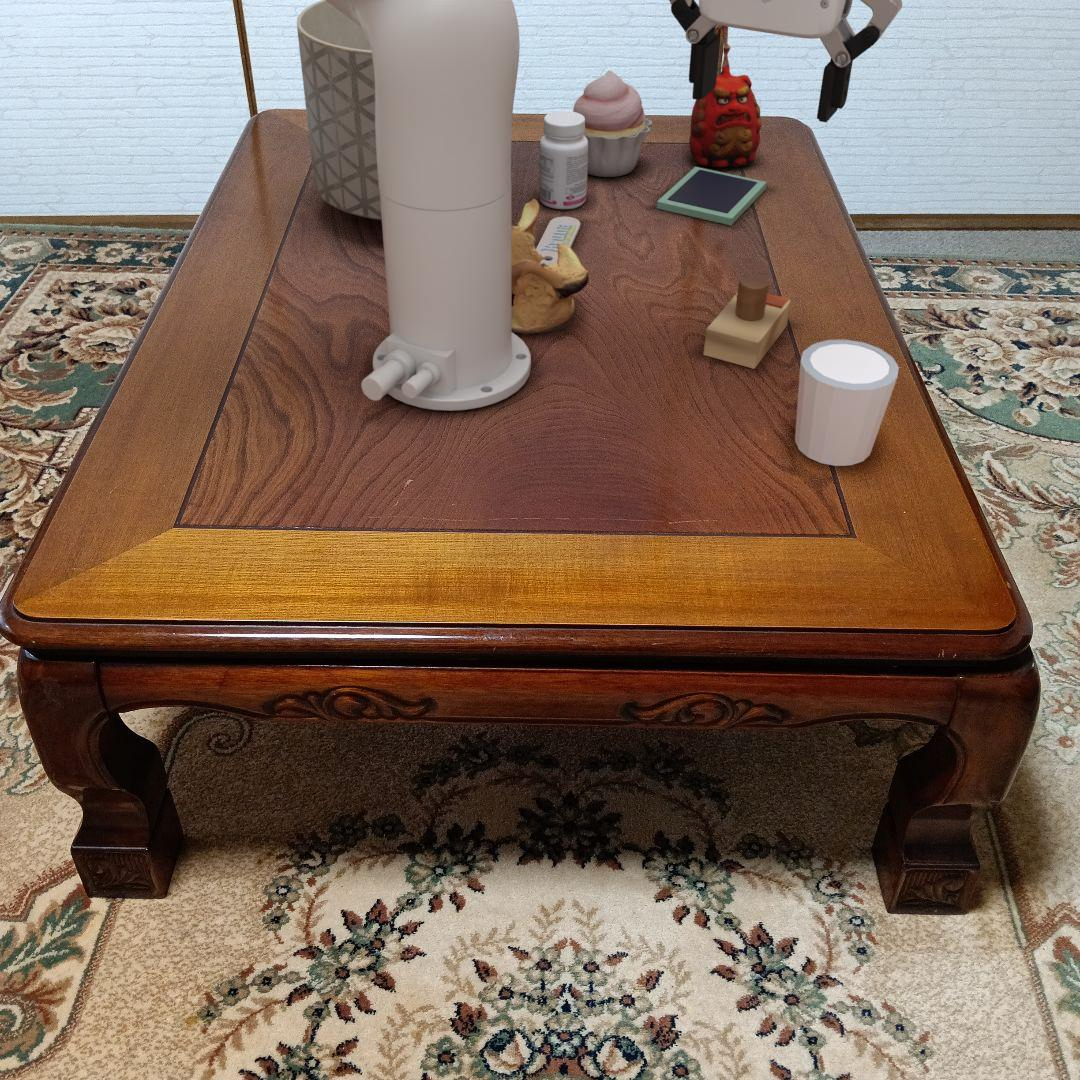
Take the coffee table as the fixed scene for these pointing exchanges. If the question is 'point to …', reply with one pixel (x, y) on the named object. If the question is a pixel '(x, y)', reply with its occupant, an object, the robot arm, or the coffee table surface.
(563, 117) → the pill bottle
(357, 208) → the planter
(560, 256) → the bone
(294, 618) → the coffee table surface
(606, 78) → the cupcake
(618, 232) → the coffee table surface
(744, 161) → the red clay folk toy
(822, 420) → the white cylinder
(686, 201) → the ink pad
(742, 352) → the stamp
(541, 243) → the keychain
